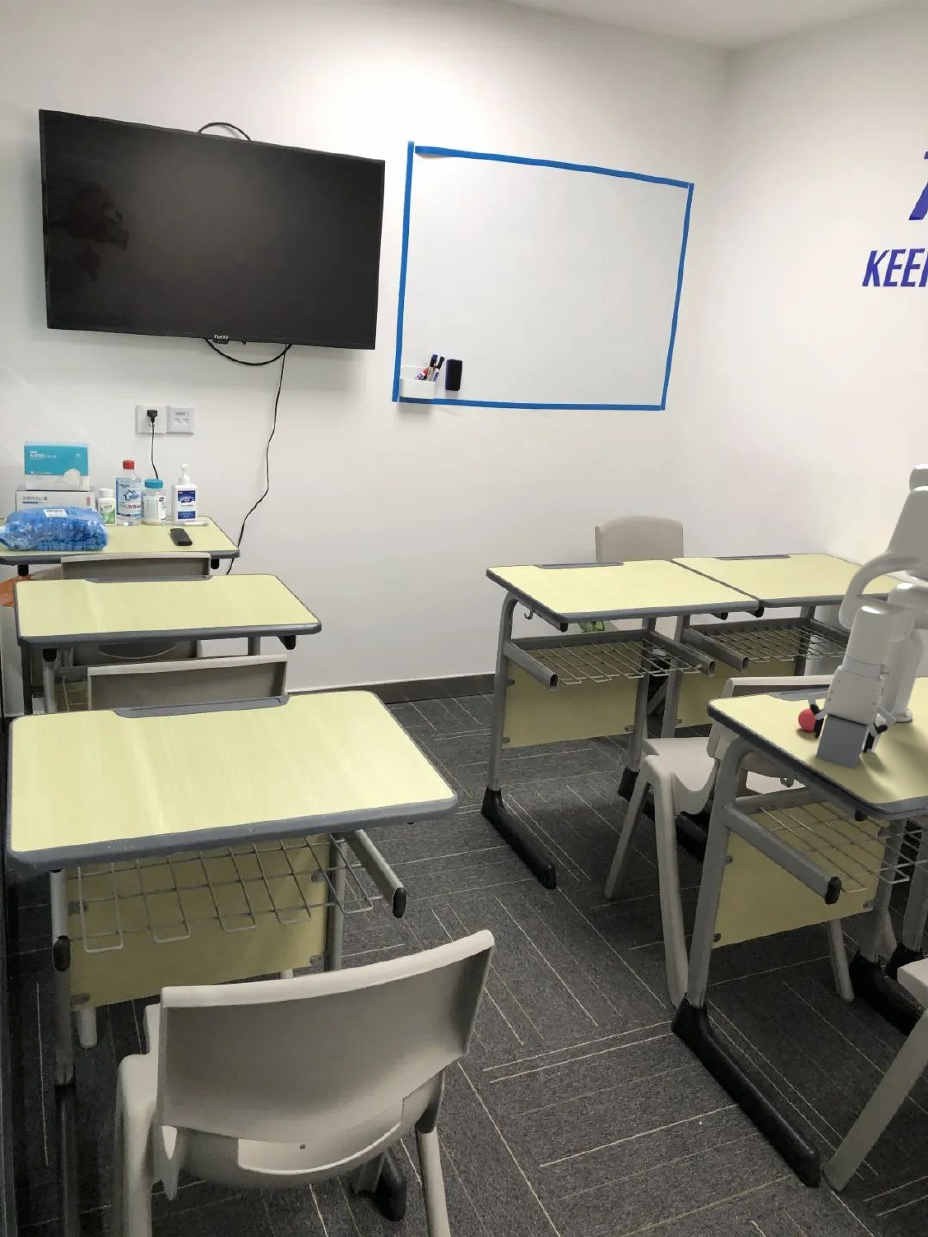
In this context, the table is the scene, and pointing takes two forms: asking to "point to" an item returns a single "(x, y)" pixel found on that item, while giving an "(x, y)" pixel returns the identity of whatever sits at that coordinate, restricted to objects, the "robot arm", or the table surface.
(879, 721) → the milkshake
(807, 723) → the ball
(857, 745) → the grey cube
